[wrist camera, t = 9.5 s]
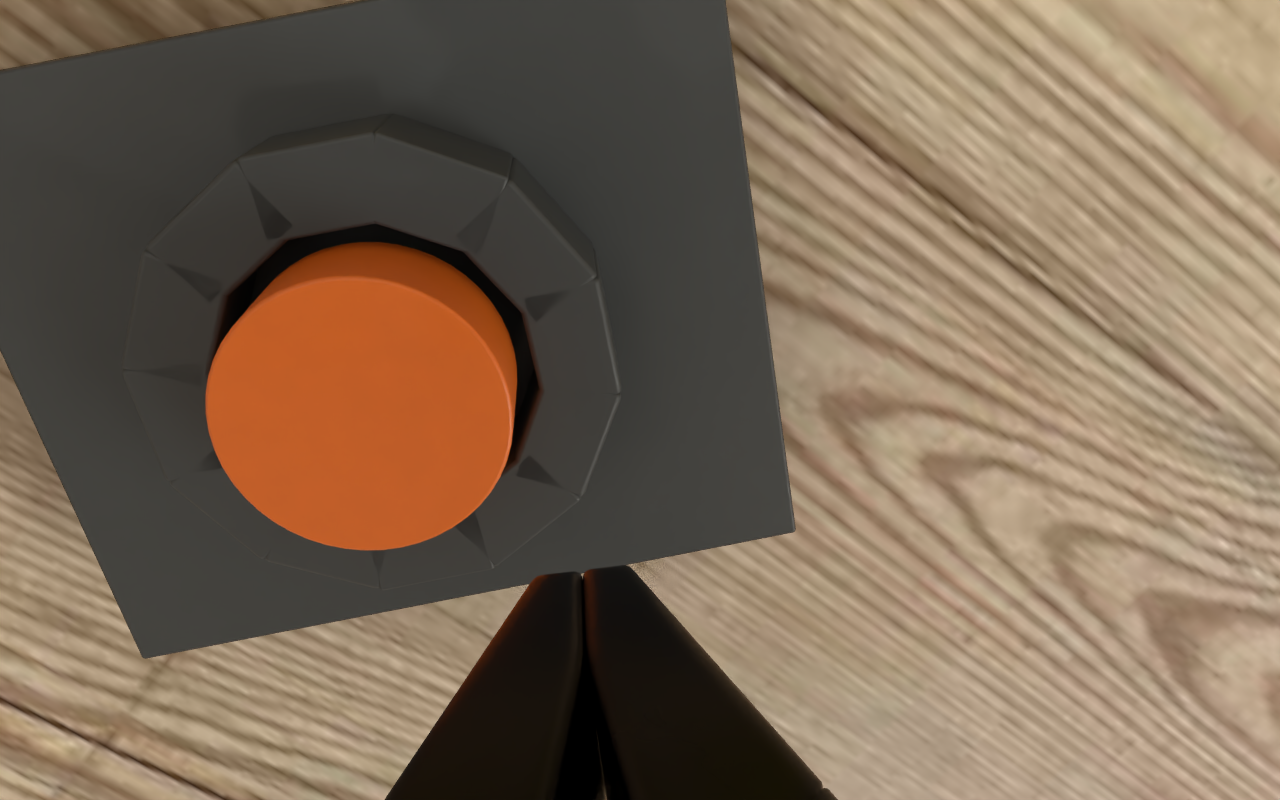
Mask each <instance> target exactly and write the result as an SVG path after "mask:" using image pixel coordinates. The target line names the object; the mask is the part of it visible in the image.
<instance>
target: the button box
mask: <svg viewBox="0 0 1280 800" xmlns="http://www.w3.org/2000/svg"><path fill="white" fill-rule="evenodd" d="M356 242H382V243H390V244H398V245H402V246H406V247H410V248H414V249H417V250H420V251H422V252H425V253H428V254H430V255H433V256H435V257H437V258H439V259H441V260H443V261H444V262H446V263H448V264H450V265H452V266H453V267H454V268H456V269H457V270H459V271H460V272H462V273H463V274H464V275H466V276H467V277H468V278H469V279H470V280H471V281H473V282H474V283H475V284H476V285H477V286H478V287H479V288H480V289H481V290H482V291H483V292H484V294H485V295H486V296H487V297H488V298H489V299H490V301H491V302H492V303H493V305H494V306H495V308H496V309H497V311H498V313H499V314H500V316H501V317H502V319H503V321H504V324H505V326H506V328H507V330H508V332H509V335H510V338H511V341H512V344H513V347H514V352H515V358H516V364H517V391H516V403H515V416H514V428H513V436H512V445H511V448H510V452H509V456H508V460H507V463H506V465H505V467H504V470H503V472H502V474H501V477H500V478H499V480H498V482H497V483H496V485H495V487H494V488H493V490H492V491H491V493H490V494H489V495H488V496H487V498H486V499H485V500H484V501H483V502H482V504H481V505H480V506H479V507H478V508H477V509H476V510H475V511H473V512H472V513H471V514H470V515H469V516H468V517H467V518H465V519H464V520H463V521H461V522H460V523H458V524H457V525H456V526H454V527H453V528H451V529H449V530H447V531H445V532H443V533H442V534H440V535H438V536H436V537H433V538H431V539H428V540H426V541H423V542H420V543H417V544H413V545H409V546H405V547H401V548H394V549H387V550H353V549H344V548H339V547H334V546H329V545H325V544H321V543H318V542H315V541H312V540H309V539H306V538H304V537H302V536H299V535H297V534H295V533H293V532H290V531H289V530H287V529H285V528H283V527H282V526H280V525H278V524H277V523H275V522H273V521H272V520H271V519H269V518H268V517H266V516H265V515H264V514H262V513H261V512H260V511H258V510H257V509H256V508H255V507H254V506H253V505H252V504H251V503H250V502H249V501H248V500H247V499H246V498H245V497H244V496H243V495H242V494H241V493H240V491H239V490H238V489H237V488H236V487H235V485H234V484H233V483H232V482H231V480H230V478H229V477H228V475H227V474H226V472H225V471H224V469H223V467H222V466H221V463H220V461H219V459H218V457H217V455H216V453H215V451H214V448H213V444H212V441H211V438H210V435H209V431H208V425H207V419H206V408H205V394H206V387H207V380H208V375H209V371H210V368H211V365H212V361H213V359H214V356H215V354H216V352H217V350H218V348H219V346H220V344H221V342H222V341H223V339H224V338H225V336H226V335H227V333H228V332H229V330H230V329H231V327H232V326H233V325H234V324H235V323H236V322H237V320H238V319H239V318H240V317H241V316H242V315H243V314H244V312H245V311H246V310H247V309H248V308H249V307H250V305H251V304H252V303H253V302H254V301H255V300H256V299H257V297H258V296H259V295H260V294H261V293H262V292H263V291H264V289H265V288H266V287H267V286H268V285H269V284H270V283H271V282H272V281H273V280H274V279H275V278H276V277H277V276H278V275H279V274H280V273H281V272H283V271H284V270H285V269H287V268H288V267H289V266H290V265H292V264H294V263H295V262H297V261H299V260H300V259H302V258H304V257H306V256H308V255H310V254H313V253H315V252H317V251H320V250H322V249H326V248H329V247H333V246H337V245H341V244H349V243H356ZM0 351H1V353H2V355H3V357H4V359H5V362H6V364H7V366H8V368H9V370H10V372H11V375H12V377H13V379H14V381H15V383H16V385H17V387H18V390H19V392H20V394H21V396H22V398H23V400H24V403H25V405H26V407H27V409H28V411H29V413H30V416H31V418H32V420H33V422H34V424H35V426H36V428H37V431H38V433H39V435H40V437H41V439H42V441H43V444H44V446H45V448H46V450H47V452H48V454H49V457H50V459H51V461H52V463H53V465H54V467H55V470H56V472H57V474H58V476H59V478H60V480H61V482H62V485H63V487H64V489H65V491H66V493H67V495H68V498H69V500H70V502H71V504H72V506H73V508H74V511H75V513H76V515H77V517H78V519H79V521H80V524H81V526H82V528H83V530H84V532H85V534H86V536H87V539H88V541H89V543H90V545H91V547H92V549H93V552H94V554H95V556H96V558H97V560H98V562H99V565H100V567H101V569H102V571H103V573H104V575H105V578H106V580H107V582H108V584H109V586H110V588H111V590H112V593H113V595H114V597H115V599H116V601H117V603H118V606H119V608H120V610H121V612H122V614H123V616H124V619H125V621H126V623H127V625H128V627H129V629H130V632H131V634H132V636H133V638H134V640H135V642H136V644H137V647H138V649H139V651H140V653H141V655H142V657H143V658H145V659H146V658H151V657H156V656H161V655H166V654H171V653H176V652H182V651H187V650H192V649H197V648H202V647H207V646H212V645H218V644H223V643H228V642H233V641H238V640H243V639H248V638H253V637H259V636H264V635H269V634H274V633H279V632H284V631H289V630H295V629H300V628H305V627H310V626H315V625H320V624H325V623H330V622H336V621H341V620H346V619H351V618H356V617H361V616H366V615H372V614H377V613H382V612H387V611H392V610H397V609H402V608H407V607H413V606H418V605H423V604H428V603H433V602H438V601H443V600H449V599H454V598H459V597H464V596H469V595H474V594H479V593H484V592H490V591H495V590H500V589H505V588H510V587H515V586H520V585H526V584H530V583H531V582H532V580H533V579H534V578H535V577H537V576H539V575H545V574H553V573H562V572H570V571H576V572H578V573H580V574H582V573H585V572H586V571H587V570H589V569H595V568H603V567H611V566H619V565H628V564H633V563H638V562H644V561H649V560H654V559H659V558H664V557H669V556H674V555H680V554H685V553H690V552H695V551H700V550H705V549H710V548H715V547H721V546H726V545H731V544H736V543H741V542H746V541H751V540H757V539H762V538H767V537H772V536H777V535H782V534H787V533H792V532H795V529H796V528H795V520H794V513H793V505H792V498H791V490H790V483H789V475H788V468H787V460H786V453H785V445H784V438H783V430H782V422H781V415H780V407H779V400H778V392H777V385H776V377H775V370H774V362H773V355H772V347H771V340H770V332H769V325H768V317H767V310H766V302H765V294H764V287H763V279H762V272H761V264H760V257H759V249H758V242H757V234H756V227H755V219H754V212H753V204H752V197H751V189H750V181H749V174H748V166H747V159H746V151H745V144H744V136H743V129H742V121H741V114H740V106H739V99H738V91H737V84H736V76H735V69H734V61H733V53H732V46H731V38H730V31H729V23H728V16H727V8H726V1H725V0H360V1H355V2H350V3H345V4H340V5H334V6H329V7H324V8H319V9H314V10H309V11H303V12H298V13H293V14H288V15H283V16H277V17H272V18H267V19H262V20H257V21H252V22H246V23H241V24H236V25H231V26H226V27H221V28H215V29H210V30H205V31H200V32H195V33H190V34H184V35H179V36H174V37H169V38H164V39H159V40H153V41H148V42H143V43H138V44H133V45H127V46H122V47H117V48H112V49H107V50H102V51H96V52H91V53H86V54H81V55H76V56H71V57H65V58H60V59H55V60H50V61H45V62H40V63H34V64H29V65H24V66H19V67H14V68H9V69H3V70H0Z"/></svg>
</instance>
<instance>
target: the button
mask: <svg viewBox="0 0 1280 800" xmlns="http://www.w3.org/2000/svg"><path fill="white" fill-rule="evenodd" d="M516 391H517V364H516V358H515V352H514V347H513V344H512V341H511V338H510V335H509V332H508V330H507V328H506V326H505V324H504V321H503V319H502V317H501V316H500V314H499V313H498V311H497V309H496V308H495V306H494V305H493V303H492V302H491V301H490V299H489V298H488V297H487V296H486V295H485V294H484V292H483V291H482V290H481V289H480V288H479V287H478V286H477V285H476V284H475V283H474V282H473V281H471V280H470V279H469V278H468V277H467V276H466V275H464V274H463V273H462V272H460V271H459V270H457V269H456V268H454V267H453V266H452V265H450V264H448V263H446V262H444V261H443V260H441V259H439V258H437V257H435V256H433V255H430V254H428V253H425V252H422V251H420V250H417V249H414V248H410V247H406V246H402V245H398V244H390V243H382V242H356V243H349V244H341V245H337V246H333V247H329V248H326V249H322V250H320V251H317V252H315V253H313V254H310V255H308V256H306V257H304V258H302V259H300V260H299V261H297V262H295V263H294V264H292V265H290V266H289V267H288V268H287V269H285V270H284V271H283V272H281V273H280V274H279V275H278V276H277V277H276V278H275V279H274V280H273V281H272V282H271V283H270V284H269V285H268V286H267V287H266V288H265V289H264V291H263V292H262V293H261V294H260V295H259V296H258V297H257V299H256V300H255V301H254V302H253V303H252V304H251V305H250V307H249V308H248V309H247V310H246V311H245V312H244V314H243V315H242V316H241V317H240V318H239V319H238V320H237V322H236V323H235V324H234V325H233V326H232V327H231V329H230V330H229V332H228V333H227V335H226V336H225V338H224V339H223V341H222V342H221V344H220V346H219V348H218V350H217V352H216V354H215V356H214V359H213V361H212V365H211V368H210V371H209V375H208V380H207V387H206V394H205V408H206V419H207V425H208V431H209V435H210V438H211V441H212V444H213V448H214V451H215V453H216V455H217V457H218V459H219V461H220V463H221V466H222V467H223V469H224V471H225V472H226V474H227V475H228V477H229V478H230V480H231V482H232V483H233V484H234V485H235V487H236V488H237V489H238V490H239V491H240V493H241V494H242V495H243V496H244V497H245V498H246V499H247V500H248V501H249V502H250V503H251V504H252V505H253V506H254V507H255V508H256V509H257V510H258V511H260V512H261V513H262V514H264V515H265V516H266V517H268V518H269V519H271V520H272V521H273V522H275V523H277V524H278V525H280V526H282V527H283V528H285V529H287V530H289V531H290V532H293V533H295V534H297V535H299V536H302V537H304V538H306V539H309V540H312V541H315V542H318V543H321V544H325V545H329V546H334V547H339V548H344V549H353V550H387V549H394V548H401V547H405V546H409V545H413V544H417V543H420V542H423V541H426V540H428V539H431V538H433V537H436V536H438V535H440V534H442V533H443V532H445V531H447V530H449V529H451V528H453V527H454V526H456V525H457V524H458V523H460V522H461V521H463V520H464V519H465V518H467V517H468V516H469V515H470V514H471V513H472V512H473V511H475V510H476V509H477V508H478V507H479V506H480V505H481V504H482V502H483V501H484V500H485V499H486V498H487V496H488V495H489V494H490V493H491V491H492V490H493V488H494V487H495V485H496V483H497V482H498V480H499V478H500V477H501V474H502V472H503V470H504V467H505V465H506V463H507V460H508V456H509V452H510V448H511V445H512V436H513V428H514V416H515V403H516Z"/></svg>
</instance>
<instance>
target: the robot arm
mask: <svg viewBox="0 0 1280 800" xmlns="http://www.w3.org/2000/svg"><path fill="white" fill-rule="evenodd" d="M606 799H607V800H838V799H837V798H836V797H835V796H834V795H833V794H832V793H831V792H830V790H828V789H827V788H823V786H822V782H821V781H820V780H819V779H818V778H817V776H816V775H815V774H814V773H813V772H812V771H811V770H810V769H809V767H808V766H807V765H806V764H805V763H804V762H803V761H802V760H801V758H800V757H799V756H798V755H797V754H796V753H795V752H794V751H793V749H792V748H791V747H790V746H789V745H788V744H787V743H786V742H785V740H784V739H783V738H782V737H781V736H780V735H779V734H778V733H777V731H776V730H775V729H774V728H773V727H772V726H771V725H770V724H769V722H768V721H767V720H766V719H765V718H764V717H763V716H762V715H761V713H760V712H759V711H758V710H757V709H756V708H755V707H754V706H753V704H752V703H751V702H750V701H749V700H748V699H747V698H746V697H745V695H744V694H743V693H742V692H741V691H740V690H739V689H738V688H737V686H736V685H735V684H734V683H733V682H732V681H731V680H730V679H729V677H728V676H727V675H726V674H725V673H724V672H723V671H722V670H721V668H720V667H719V666H718V665H717V664H716V663H715V662H714V661H713V659H712V658H711V657H710V656H709V655H708V654H707V653H706V651H705V650H704V649H703V648H702V647H701V646H700V645H699V644H698V642H697V641H696V640H695V639H694V638H693V637H692V636H691V635H690V633H689V632H688V631H687V630H686V629H685V628H684V627H683V626H682V624H681V623H680V622H679V621H678V620H677V619H676V618H675V617H674V615H673V614H672V613H671V612H670V611H669V610H668V609H667V608H666V606H665V605H664V604H663V603H662V602H661V601H660V600H659V599H658V597H657V596H656V595H655V594H654V593H653V592H652V591H651V590H650V588H649V587H648V586H647V585H646V584H645V583H644V582H643V581H642V579H641V578H640V577H639V576H638V575H637V574H636V573H635V572H634V571H633V570H632V569H631V568H630V567H629V566H627V565H619V566H611V567H603V568H595V569H589V570H587V571H586V572H585V573H584V575H583V579H582V576H581V574H580V573H578V572H576V571H570V572H562V573H553V574H545V575H539V576H537V577H535V578H534V579H533V580H532V582H531V583H530V584H529V586H528V587H527V589H526V590H525V592H524V593H523V595H522V596H521V598H520V599H519V601H518V602H517V604H516V605H515V607H514V608H513V610H512V611H511V613H510V614H509V616H508V617H507V619H506V620H505V622H504V623H503V625H502V626H501V628H500V629H499V631H498V632H497V633H496V635H495V636H494V638H493V639H492V641H491V642H490V644H489V645H488V647H487V648H486V650H485V651H484V653H483V654H482V656H481V657H480V659H479V660H478V662H477V663H476V665H475V666H474V668H473V669H472V671H471V672H470V674H469V675H468V677H467V678H466V679H465V681H464V682H463V684H462V685H461V687H460V688H459V690H458V691H457V693H456V694H455V696H454V697H453V699H452V700H451V702H450V703H449V705H448V706H447V708H446V709H445V711H444V712H443V714H442V715H441V717H440V718H439V720H438V721H437V723H436V724H435V726H434V727H433V728H432V730H431V731H430V733H429V734H428V736H427V737H426V739H425V740H424V742H423V743H422V745H421V746H420V748H419V749H418V751H417V752H416V754H415V755H414V757H413V758H412V760H411V761H410V763H409V764H408V766H407V767H406V769H405V770H404V772H403V773H402V774H401V776H400V777H399V779H398V780H397V782H396V783H395V785H394V786H393V788H392V789H391V791H390V792H389V794H388V795H387V797H386V798H385V800H606Z"/></svg>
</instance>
